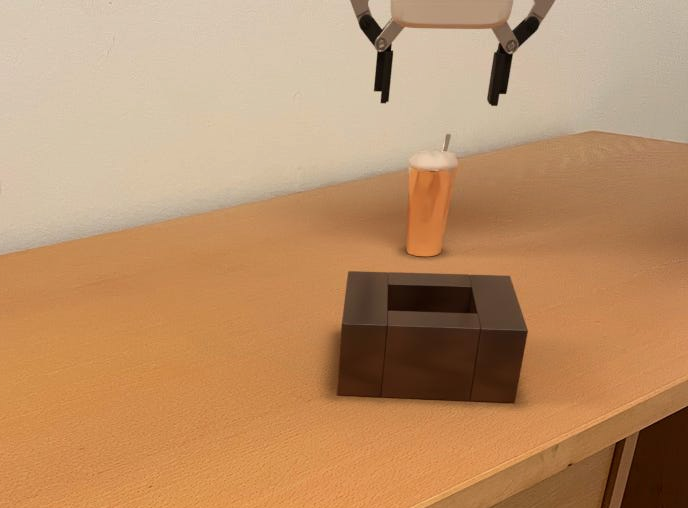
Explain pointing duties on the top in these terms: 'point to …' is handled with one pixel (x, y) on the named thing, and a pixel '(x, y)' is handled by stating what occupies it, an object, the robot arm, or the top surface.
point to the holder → (431, 337)
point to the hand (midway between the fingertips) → (437, 102)
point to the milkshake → (429, 199)
